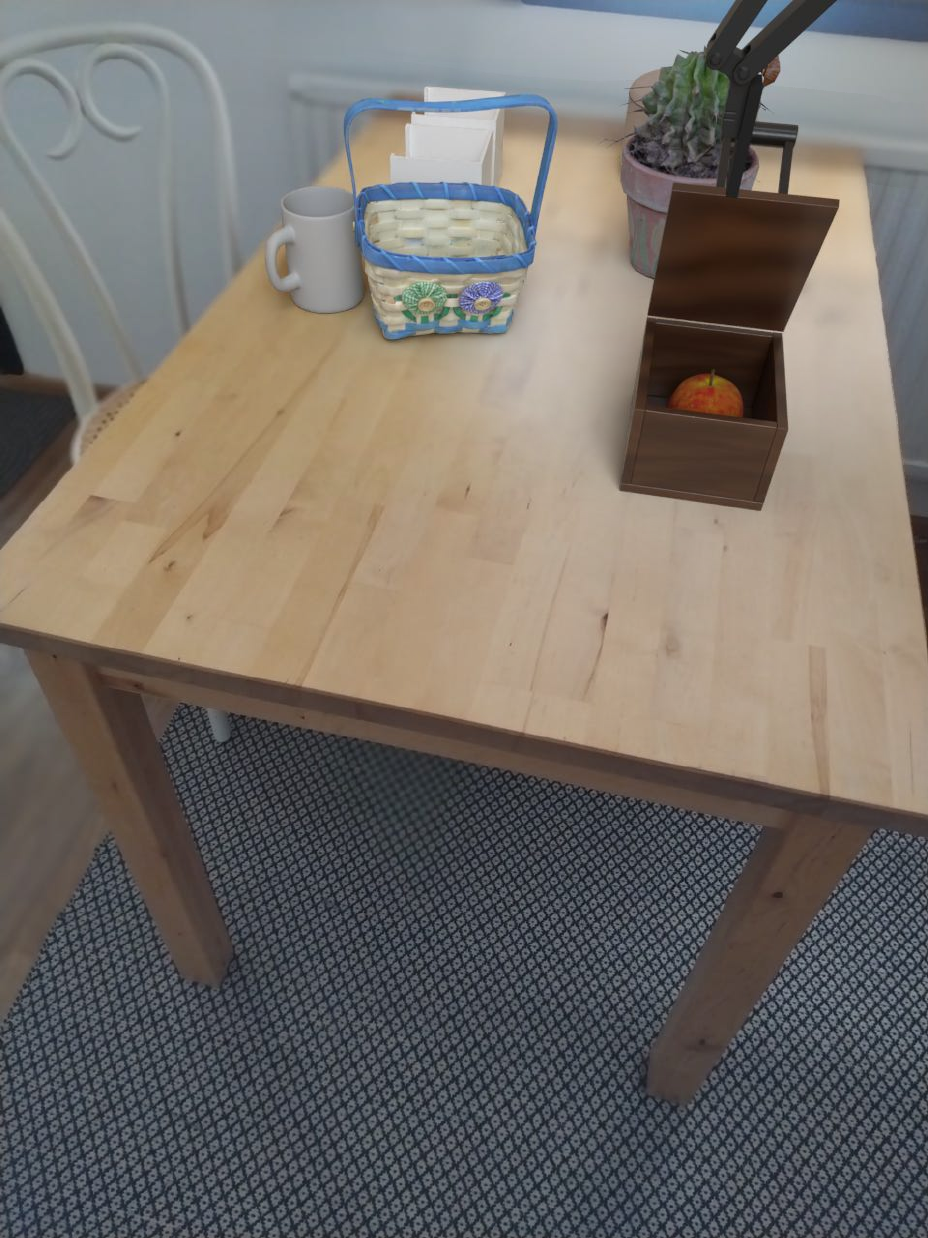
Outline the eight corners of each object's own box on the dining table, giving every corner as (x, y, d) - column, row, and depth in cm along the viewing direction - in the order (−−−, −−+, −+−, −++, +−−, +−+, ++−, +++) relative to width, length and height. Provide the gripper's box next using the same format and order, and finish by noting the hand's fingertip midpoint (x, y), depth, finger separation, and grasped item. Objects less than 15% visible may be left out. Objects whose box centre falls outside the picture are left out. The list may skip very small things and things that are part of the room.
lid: (839, 207, 71) (848, 107, 74) (671, 190, 73) (686, 92, 75) (783, 332, 87) (792, 246, 90) (647, 315, 89) (660, 232, 91)
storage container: (479, 254, 116) (482, 163, 108) (393, 247, 117) (389, 156, 109) (501, 175, 133) (505, 91, 125) (426, 169, 134) (425, 86, 126)
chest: (761, 511, 83) (788, 429, 77) (619, 490, 85) (634, 408, 78) (758, 412, 94) (782, 332, 87) (632, 395, 95) (646, 316, 89)
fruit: (737, 469, 86) (758, 395, 80) (661, 463, 86) (678, 390, 80) (729, 425, 91) (749, 352, 85) (657, 420, 91) (673, 347, 85)
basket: (363, 367, 98) (347, 131, 81) (352, 291, 109) (335, 69, 92) (554, 354, 101) (577, 122, 83) (524, 281, 112) (539, 63, 94)
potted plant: (565, 239, 120) (588, 15, 101) (704, 225, 123) (750, 7, 105) (614, 307, 108) (650, 69, 89) (766, 290, 111) (831, 57, 93)
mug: (332, 271, 112) (324, 178, 104) (379, 296, 108) (374, 201, 100) (252, 305, 106) (237, 209, 98) (298, 333, 102) (286, 235, 94)
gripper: (1224, -237, 46) (1025, 196, 62) (716, -260, 49) (649, 159, 65) (1283, -221, 41) (1050, 246, 56) (714, -247, 44) (642, 203, 60)
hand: (836, 200), depth 61 cm, fingers open, 13 cm apart
